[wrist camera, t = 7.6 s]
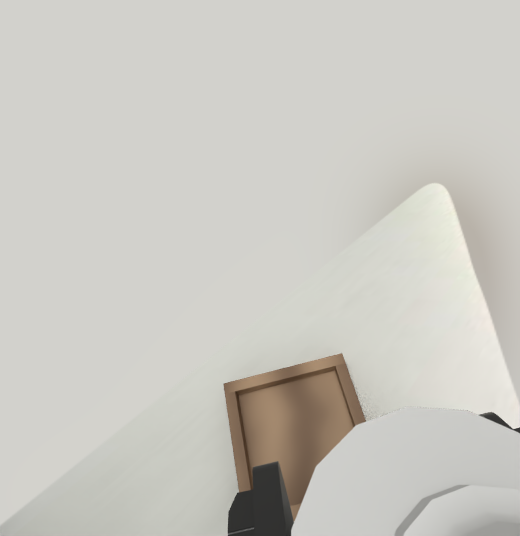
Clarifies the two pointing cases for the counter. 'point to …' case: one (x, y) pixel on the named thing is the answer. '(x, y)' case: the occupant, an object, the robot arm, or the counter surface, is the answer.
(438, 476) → the bottle
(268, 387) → the walnut tray
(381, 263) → the counter surface
